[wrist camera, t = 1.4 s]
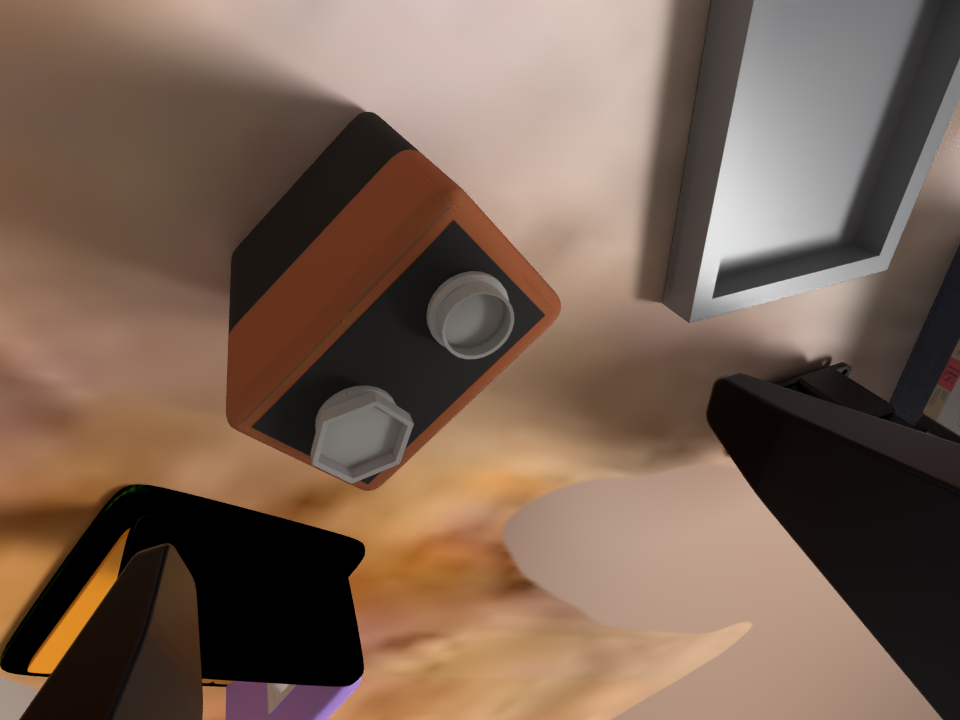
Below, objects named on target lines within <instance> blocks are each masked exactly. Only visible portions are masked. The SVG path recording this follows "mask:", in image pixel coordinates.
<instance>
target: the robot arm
mask: <svg viewBox="0 0 960 720" xmlns="http://www.w3.org/2000/svg"><path fill="white" fill-rule="evenodd" d="M850 371H851V366H849V365H847V364H846V363H844V362H842V363H838V364H835V365H832V366H829V367H826V368H823V369H820V370H816V371H813V372H810V373H807V374H804V375H801V376H798V377H794V378H791V379H788V380H785V381H782V382H779V383H776V384H773V383H769V382H766V381H763V380H760V379H757V378H754V377H751V376H748V375H745V374H741V373H733V374H729V375H726V376H723V377H719V378H718V379H716V381H715V382H714V384H713V387H712V391H711V395H710V399H709V402H708V406H707V410H706V418H707V422H708V424H709V426H710V428H711V429H712V430H713V432H714V433H715V435H716V436H717V438H718V439H719V441H720V442H721V444H722V445H723V447H724V448H725V450H726V451H727V453H728V454H729V455H730V457H731V458H732V460H733V461H734V463H735V464H736V466H737V467H738V469H739V470H740V472H741V473H742V474H743V476H744V477H745V479H746V480H747V482H748V483H749V485H750V486H751V487H752V489H753V490H754V492H755V493H756V494H757V496H758V497H759V498H760V499H761V501H762V502H763V503H764V504H765V506H766V507H767V508H768V509H769V511H770V512H771V513H772V514H773V515H774V517H775V518H776V519H777V520H778V521H779V522H780V524H781V525H782V526H783V527H784V529H785V530H786V531H787V532H788V533H789V535H790V536H791V537H792V538H793V540H794V541H795V542H796V543H797V544H798V545H799V547H800V548H801V549H802V550H803V552H804V553H805V554H806V555H807V556H808V557H809V559H810V560H811V561H812V562H813V564H814V565H815V566H816V567H817V568H818V570H819V571H820V572H821V573H822V574H823V576H824V577H825V578H826V579H827V580H828V582H829V583H830V584H831V585H832V587H833V588H834V589H835V590H836V591H837V593H838V594H839V595H840V596H841V597H842V599H843V600H844V601H845V602H846V603H847V605H848V606H849V607H850V608H851V609H852V611H853V612H854V613H855V614H856V616H857V617H858V618H859V619H860V620H861V622H863V624H864V625H865V626H866V628H867V629H868V630H869V631H870V632H871V633H872V635H873V636H874V637H875V638H876V640H877V641H878V642H879V643H880V644H881V646H882V647H883V648H884V649H885V651H886V652H887V653H888V654H889V655H890V657H891V658H892V659H893V660H894V661H895V663H896V664H897V665H898V666H899V667H900V669H901V670H902V671H903V672H904V673H905V675H907V677H908V678H909V679H910V681H911V682H912V683H913V684H914V685H915V687H916V688H917V689H918V690H919V692H920V693H921V694H922V695H923V696H924V697H925V698H926V700H927V701H928V702H929V704H930V705H931V706H932V707H933V708H934V710H935V711H936V712H937V713H938V714H939V716H940V717H941V718H942V719H943V720H960V437H958V436H957V435H955V434H954V433H952V432H950V431H949V430H947V429H945V428H944V427H942V426H940V425H939V424H937V423H936V422H934V421H932V420H931V419H929V418H927V417H926V416H924V415H921V416H920V417H919V418H918V419H917V420H916V421H915V423H916V424H915V425H914V426H913V425H911V424H910V423H908V422H907V421H905V420H904V419H902V418H901V417H899V416H897V415H896V414H894V412H895V408H894V407H893V405H891V404H890V403H888V402H887V401H885V400H883V399H882V398H880V397H879V396H877V395H875V394H874V393H872V392H871V391H869V390H867V389H866V388H864V387H863V386H861V385H859V384H858V383H856V382H855V381H853V380H852V379H850V378H848V375H849V373H850ZM202 715H203V692H202V673H201V657H200V640H199V624H198V608H197V593H196V586H195V582H194V579H193V577H192V575H191V573H190V572H189V570H188V569H187V567H186V565H185V564H184V562H183V560H182V559H181V557H180V555H179V554H178V552H177V550H176V549H175V548H174V546H172V545H171V544H162V545H158V546H155V547H152V548H148V549H145V550H142V551H139V552H138V553H136V554H135V555H134V556H133V557H132V558H131V560H130V561H129V563H128V564H127V565H126V567H125V568H124V570H123V571H122V573H121V574H120V576H119V577H118V578H117V580H116V581H115V583H114V584H113V586H112V587H111V588H110V590H109V591H108V593H107V594H106V596H105V597H104V599H103V600H102V601H101V603H100V604H99V606H98V607H97V609H96V610H95V611H94V613H93V614H92V616H91V617H90V619H89V620H88V622H87V623H86V624H85V626H84V627H83V629H82V630H81V632H80V633H79V634H78V636H77V637H76V639H75V640H74V642H73V643H72V645H71V646H70V647H69V649H68V650H67V652H66V653H65V655H64V656H63V657H62V659H61V660H60V662H59V663H58V665H57V666H56V668H55V669H54V670H53V672H52V673H51V675H50V676H49V678H48V679H47V680H46V682H45V683H44V685H43V686H42V688H41V689H40V691H39V692H38V693H37V695H36V696H35V698H34V699H33V701H32V702H31V703H30V705H29V706H28V708H27V709H26V711H25V712H24V714H23V715H22V716H21V718H20V719H19V720H202Z"/></svg>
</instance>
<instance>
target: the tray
mask: <svg viewBox="0 0 960 720" xmlns="http://www.w3.org/2000/svg"><path fill="white" fill-rule="evenodd" d="M959 98H960V0H711V7H710V13H709V19H708V25H707V31H706V37H705V44H704V50H703V56H702V62H701V68H700V74H699V81H698V87H697V93H696V99H695V105H694V112H693V118H692V124H691V130H690V136H689V142H688V149H687V155H686V161H685V167H684V173H683V179H682V186H681V192H680V198H679V204H678V210H677V216H676V223H675V229H674V235H673V241H672V247H671V254H670V260H669V266H668V272H667V278H666V284H665V291H664V297H663V304H664V305H665V306H667V307H668V308H669V309H671V310H672V311H673V312H675V313H676V314H678V315H679V316H680V317H682V318H683V319H684V320H686V321H687V322H689V323H692V322H695V321H699V320H703V319H707V318H710V317H714V316H718V315H721V314H725V313H729V312H733V311H736V310H740V309H744V308H748V307H751V306H755V305H759V304H762V303H766V302H770V301H774V300H777V299H781V298H785V297H788V296H792V295H796V294H800V293H803V292H807V291H811V290H814V289H818V288H822V287H826V286H829V285H833V284H837V283H841V282H844V281H848V280H852V279H855V278H859V277H863V276H867V275H870V274H874V273H878V272H881V271H885V270H887V269H888V266H889V264H890V261H891V259H892V257H893V254H894V252H895V250H896V247H897V245H898V243H899V240H900V238H901V235H902V233H903V231H904V228H905V226H906V224H907V221H908V219H909V216H910V214H911V212H912V209H913V207H914V205H915V202H916V200H917V197H918V195H919V193H920V190H921V188H922V186H923V183H924V181H925V178H926V176H927V174H928V171H929V169H930V167H931V164H932V162H933V159H934V157H935V155H936V152H937V150H938V148H939V145H940V143H941V140H942V138H943V136H944V133H945V131H946V129H947V126H948V124H949V121H950V119H951V117H952V114H953V112H954V110H955V107H956V105H957V102H958V100H959Z"/></svg>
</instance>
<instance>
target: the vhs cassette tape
mask: <svg viewBox="0 0 960 720" xmlns="http://www.w3.org/2000/svg"><path fill="white" fill-rule="evenodd" d="M889 403H890V404H891V405H893V407H894V408H895V412H894V414H896V415H897V416H899V417H901V418H902V419H904V420H905V421H907V422H908V423H910V424H911V425H913V426H914V425H915V424H916V423H915V421H916V420H917V419H918V418H919V417H920V416H921V415H924V416H926V417H927V418H929V419H931V420H932V421H934V422H936V423H937V424H939V425H940V426H942V427H944V428H945V429H947V430H949V431H950V432H952V433H954V434H955V435H957V436H958V437H960V245H959V247H958V249H957V251H956V254H955V256H954V258H953V260H952V263H951V265H950V267H949V269H948V271H947V274H946V276H945V278H944V280H943V283H942V285H941V287H940V289H939V292H938V294H937V296H936V298H935V301H934V303H933V305H932V307H931V309H930V312H929V314H928V316H927V319H926V321H925V323H924V325H923V328H922V330H921V332H920V334H919V337H918V339H917V341H916V343H915V346H914V348H913V350H912V353H911V355H910V357H909V359H908V362H907V364H906V366H905V368H904V370H903V373H902V375H901V377H900V380H899V382H898V384H897V386H896V389H895V391H894V393H893V395H892V398H891V400H890V402H889Z"/></svg>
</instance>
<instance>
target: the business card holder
mask: <svg viewBox="0 0 960 720" xmlns="http://www.w3.org/2000/svg"><path fill="white" fill-rule="evenodd" d="M162 544H171V545H172V546H174V548H175V549H176V550H177V552H178V554H179V555H180V557H181V559H182V560H183V562H184V564H185V565H186V567H187V569H188V570H189V572H190V573H191V575H192V577H193V579H194V582H195V586H196V593H197V608H198V624H199V640H200V657H201V673H202V686H218V687H226V720H327V719H328V718H329V717H330V716H331V715H332V714H333V713H334V712H335V711H336V710H337V708H338V707H339V706H340V705H341V704H342V703H343V702H344V701H345V700H346V699H347V698H348V697H349V696H350V695H351V694H352V692H353V691H354V690H355V689H356V688H357V687H358V685H359V684H360V682H361V680H362V674H363V671H364V663H363V655H362V649H361V643H360V637H359V631H358V626H357V620H356V615H355V609H354V604H353V599H352V594H351V589H350V584H349V579H348V577H349V576H350V575H351V573H352V572H353V571H354V570H355V569H356V568H357V566H358V565H359V564H360V562H361V561H362V559H363V557H364V555H365V547H364V545H363V543H362V542H360V541H358V540H356V539H353V538H351V537H348V536H344V535H341V534H338V533H334V532H331V531H327V530H323V529H320V528H316V527H313V526H309V525H305V524H302V523H298V522H294V521H291V520H287V519H283V518H280V517H276V516H272V515H268V514H265V513H261V512H257V511H253V510H249V509H246V508H242V507H238V506H234V505H230V504H226V503H223V502H219V501H215V500H211V499H207V498H203V497H199V496H195V495H191V494H187V493H183V492H179V491H175V490H171V489H166V488H162V487H156V486H151V485H140V484H138V485H130V486H127V487H125V488H123V489H121V490H120V491H119V492H117V493H116V494H115V495H114V496H113V497H112V498H111V499H110V500H109V501H108V503H107V504H106V505H105V506H104V508H103V509H102V510H101V511H100V513H99V514H98V515H97V517H96V518H95V519H94V521H93V522H92V523H91V525H90V526H89V527H88V529H87V530H86V532H85V533H84V534H83V536H82V537H81V538H80V540H79V541H78V543H77V544H76V545H75V547H74V548H73V549H72V551H71V552H70V554H69V555H68V556H67V558H66V559H65V561H64V562H63V563H62V565H61V566H60V568H59V569H58V570H57V572H56V573H55V575H54V576H53V578H52V579H51V580H50V582H49V583H48V585H47V586H46V588H45V589H44V590H43V592H42V593H41V595H40V596H39V598H38V599H37V600H36V602H35V603H34V605H33V606H32V608H31V609H30V611H29V612H28V614H27V615H26V616H25V618H24V619H23V621H22V622H21V624H20V625H19V627H18V628H17V630H16V631H15V633H14V634H13V636H12V637H11V639H10V641H9V642H8V644H7V645H6V647H5V649H4V651H3V653H2V656H1V661H0V666H1V668H2V670H4V671H6V672H9V673H13V674H19V675H29V676H41V677H49V676H50V675H51V673H52V672H53V670H54V669H55V668H56V666H57V665H58V663H59V662H60V660H61V659H62V657H63V656H64V655H65V653H66V652H67V650H68V649H69V647H70V646H71V645H72V643H73V642H74V640H75V639H76V637H77V636H78V634H79V633H80V632H81V630H82V629H83V627H84V626H85V624H86V623H87V622H88V620H89V619H90V617H91V616H92V614H93V613H94V611H95V610H96V609H97V607H98V606H99V604H100V603H101V601H102V600H103V599H104V597H105V596H106V594H107V593H108V591H109V590H110V588H111V587H112V586H113V584H114V583H115V581H116V580H117V578H118V577H119V576H120V574H121V573H122V571H123V570H124V568H125V567H126V565H127V564H128V563H129V561H130V560H131V558H132V557H133V556H134V555H135V554H136V553H138V552H139V551H142V550H145V549H148V548H152V547H155V546H158V545H162Z"/></svg>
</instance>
